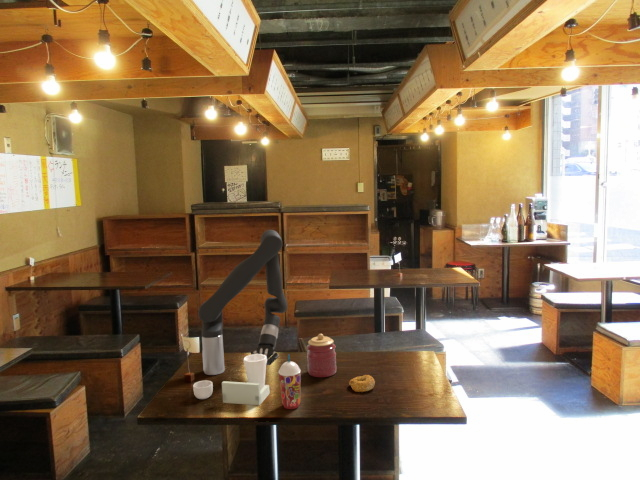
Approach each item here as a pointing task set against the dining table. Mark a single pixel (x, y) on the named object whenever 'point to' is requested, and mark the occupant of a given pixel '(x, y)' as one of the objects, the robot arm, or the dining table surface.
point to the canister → (321, 356)
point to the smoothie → (290, 384)
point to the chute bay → (244, 393)
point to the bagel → (362, 383)
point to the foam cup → (255, 368)
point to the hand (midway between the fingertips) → (260, 373)
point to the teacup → (203, 389)
